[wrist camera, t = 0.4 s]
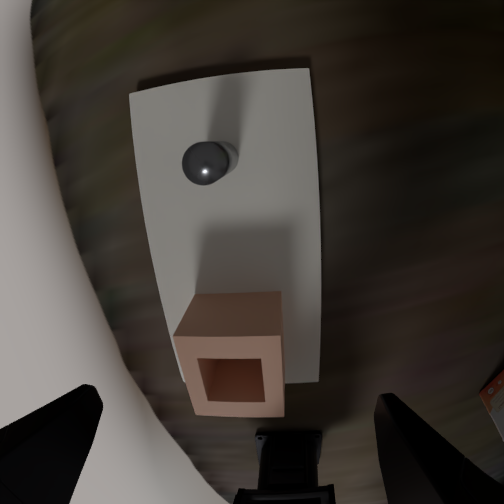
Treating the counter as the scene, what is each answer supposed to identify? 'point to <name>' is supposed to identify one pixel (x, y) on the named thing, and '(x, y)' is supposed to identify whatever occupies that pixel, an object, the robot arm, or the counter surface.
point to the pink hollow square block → (234, 354)
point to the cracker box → (495, 401)
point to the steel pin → (209, 161)
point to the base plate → (236, 199)
